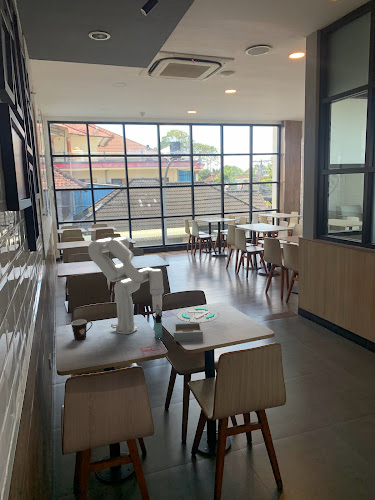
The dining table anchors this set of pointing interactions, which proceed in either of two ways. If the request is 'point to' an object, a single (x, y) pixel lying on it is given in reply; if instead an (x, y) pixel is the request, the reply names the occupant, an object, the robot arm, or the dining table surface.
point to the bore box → (188, 332)
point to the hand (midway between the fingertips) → (159, 319)
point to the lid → (197, 317)
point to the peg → (158, 329)
